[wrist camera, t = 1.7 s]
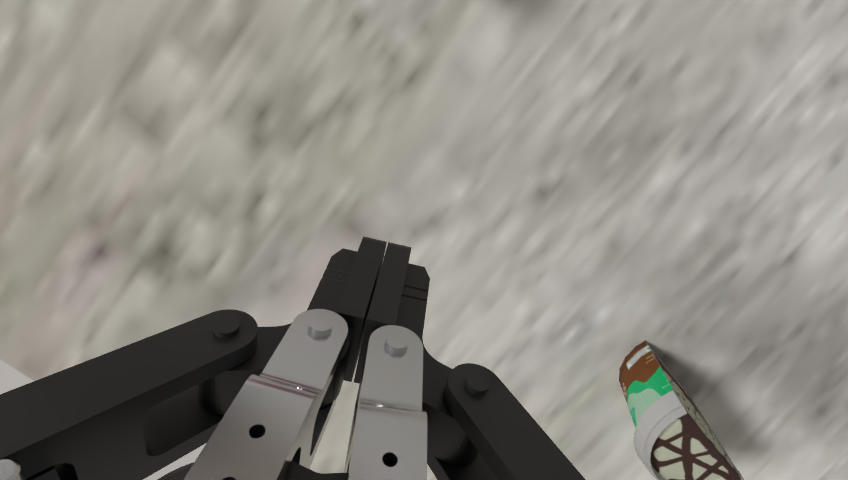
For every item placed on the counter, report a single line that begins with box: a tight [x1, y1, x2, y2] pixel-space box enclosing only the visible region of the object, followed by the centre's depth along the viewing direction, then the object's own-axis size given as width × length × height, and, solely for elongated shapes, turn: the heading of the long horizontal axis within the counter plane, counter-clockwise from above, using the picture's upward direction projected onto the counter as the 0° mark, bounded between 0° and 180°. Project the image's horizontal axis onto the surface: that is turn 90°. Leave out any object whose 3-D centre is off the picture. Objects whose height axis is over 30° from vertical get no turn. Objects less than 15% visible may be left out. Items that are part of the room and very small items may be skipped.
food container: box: [619, 340, 744, 480], centre depth 45 cm, size 12×6×10 cm, turn 40°
